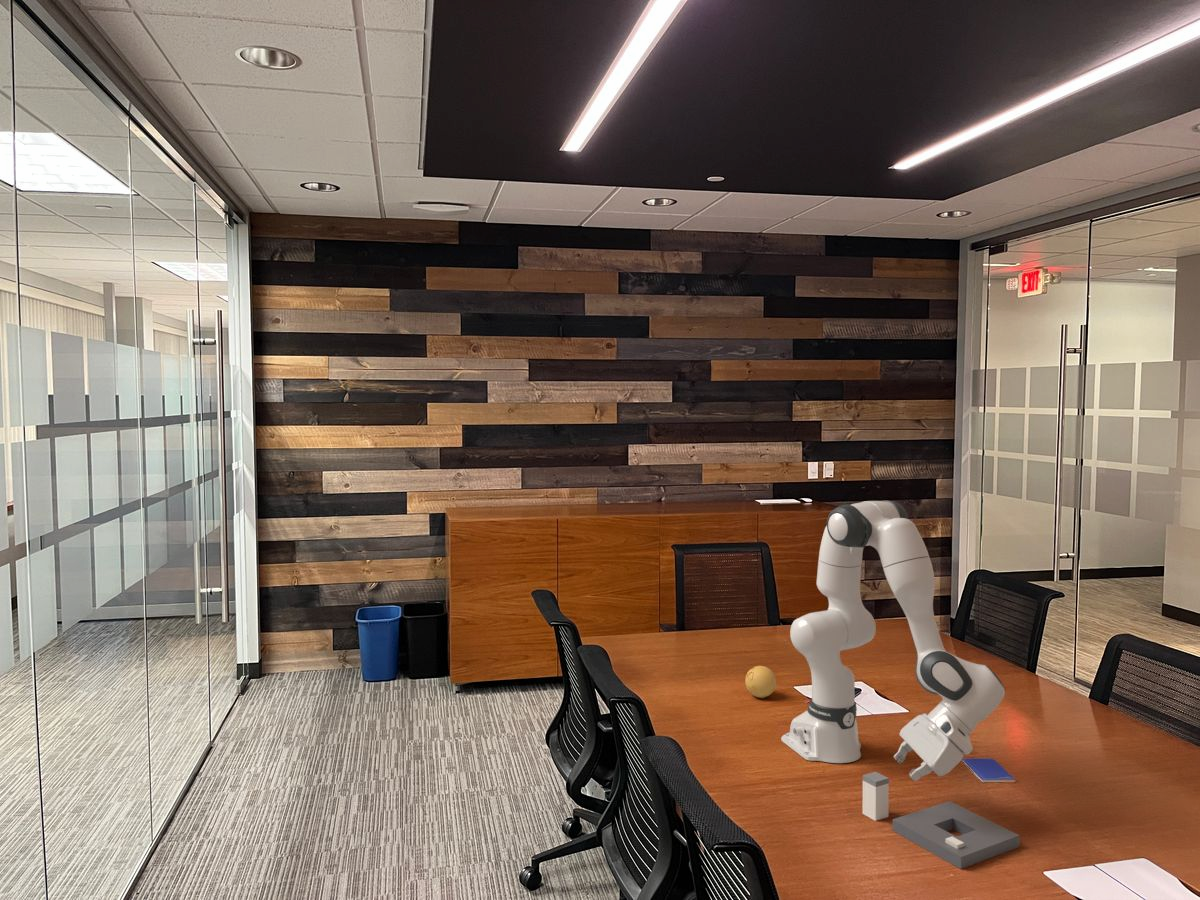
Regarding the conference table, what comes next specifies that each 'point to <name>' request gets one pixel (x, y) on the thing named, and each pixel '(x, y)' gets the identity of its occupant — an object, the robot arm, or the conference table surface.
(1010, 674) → the conference table surface
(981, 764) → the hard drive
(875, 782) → the plug
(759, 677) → the stress ball
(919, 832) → the socket plate
